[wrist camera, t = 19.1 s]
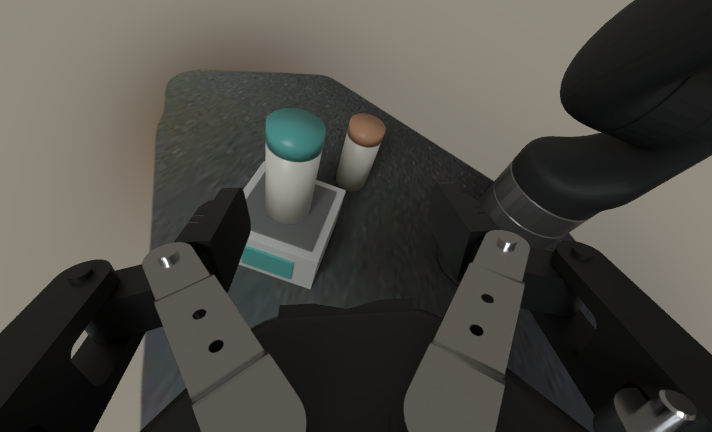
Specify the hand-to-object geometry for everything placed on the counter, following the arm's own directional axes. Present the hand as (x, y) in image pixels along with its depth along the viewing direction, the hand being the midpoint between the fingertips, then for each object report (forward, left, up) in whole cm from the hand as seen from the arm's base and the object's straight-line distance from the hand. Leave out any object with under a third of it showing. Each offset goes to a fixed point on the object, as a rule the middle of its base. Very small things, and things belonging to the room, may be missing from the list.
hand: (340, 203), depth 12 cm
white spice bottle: (-24, -11, -25) cm, 36 cm away
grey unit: (-9, -10, -25) cm, 28 cm away
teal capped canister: (-9, -10, -17) cm, 22 cm away
